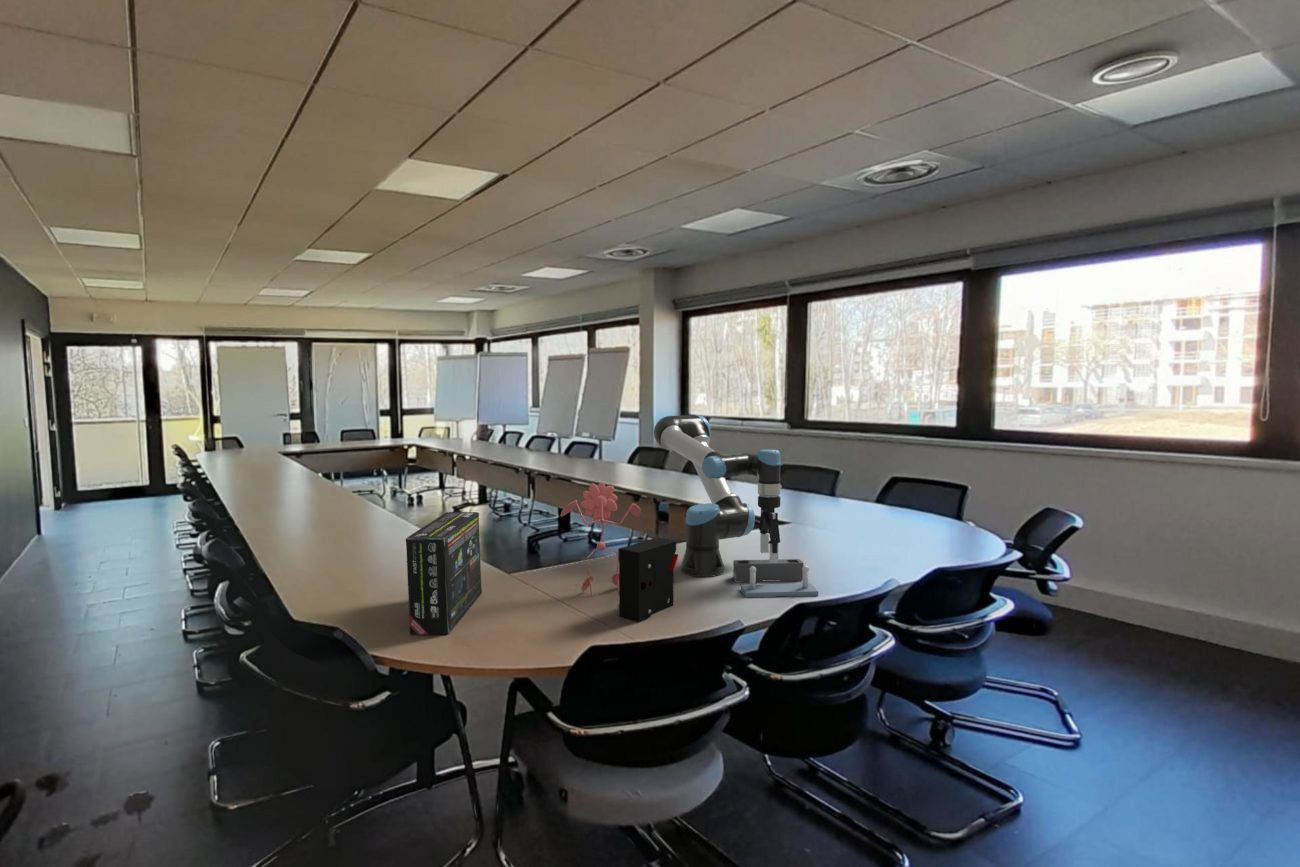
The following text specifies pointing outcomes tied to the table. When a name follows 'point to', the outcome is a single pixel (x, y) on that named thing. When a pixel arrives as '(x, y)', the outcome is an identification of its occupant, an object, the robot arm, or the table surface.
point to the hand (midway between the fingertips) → (769, 557)
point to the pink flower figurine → (599, 507)
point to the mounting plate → (779, 587)
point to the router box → (443, 572)
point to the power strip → (768, 569)
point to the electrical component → (646, 578)
